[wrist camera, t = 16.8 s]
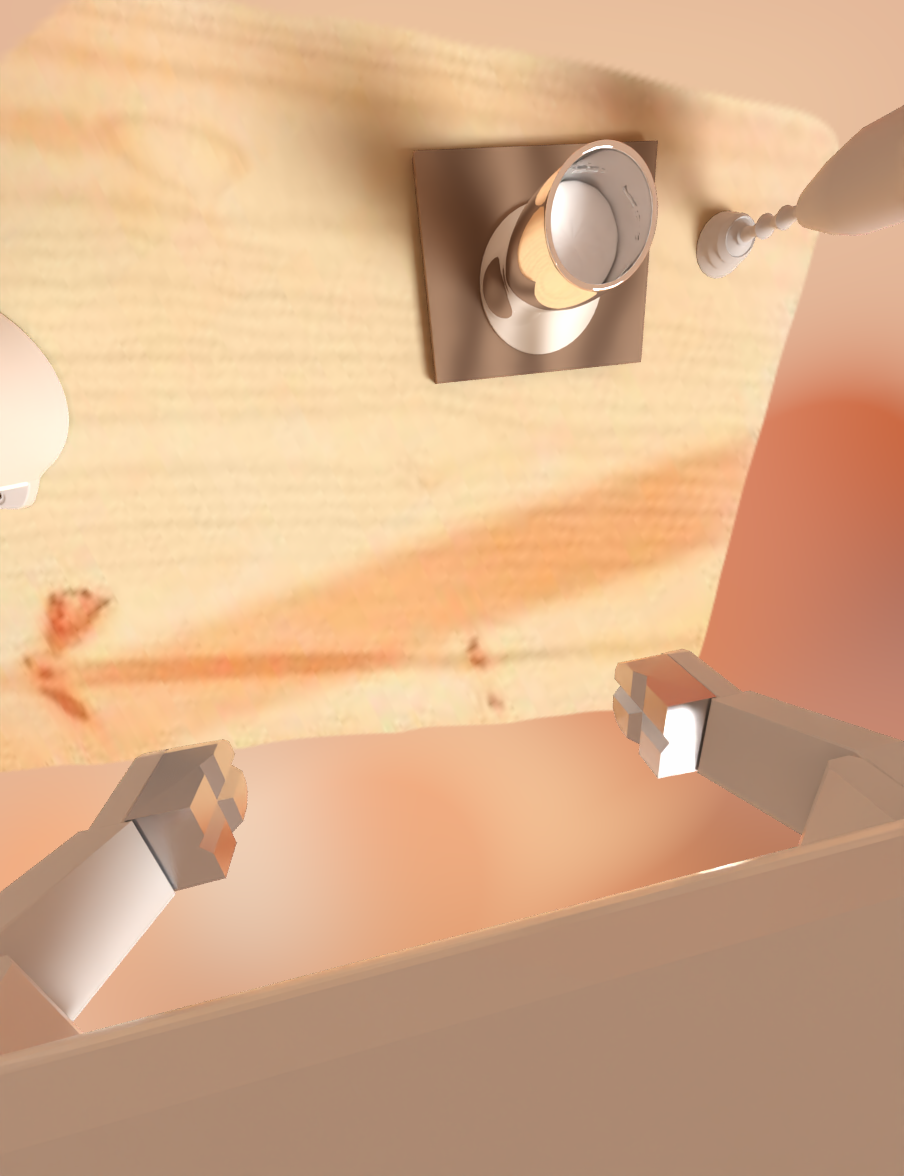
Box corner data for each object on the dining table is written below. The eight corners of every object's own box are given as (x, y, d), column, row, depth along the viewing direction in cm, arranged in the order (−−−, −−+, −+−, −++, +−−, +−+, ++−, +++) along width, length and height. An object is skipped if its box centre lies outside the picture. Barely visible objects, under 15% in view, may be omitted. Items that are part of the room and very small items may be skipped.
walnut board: (435, 383, 40) (437, 383, 39) (412, 158, 34) (414, 147, 32) (634, 362, 43) (643, 361, 41) (649, 148, 36) (660, 137, 35)
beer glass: (465, 255, 35) (525, 164, 22) (542, 221, 35) (650, 110, 22) (492, 345, 38) (560, 315, 25) (563, 314, 38) (670, 267, 25)
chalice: (678, 286, 41) (883, 212, 24) (695, 194, 38) (939, 41, 22) (745, 291, 42) (984, 222, 26) (767, 202, 39) (1049, 62, 23)
